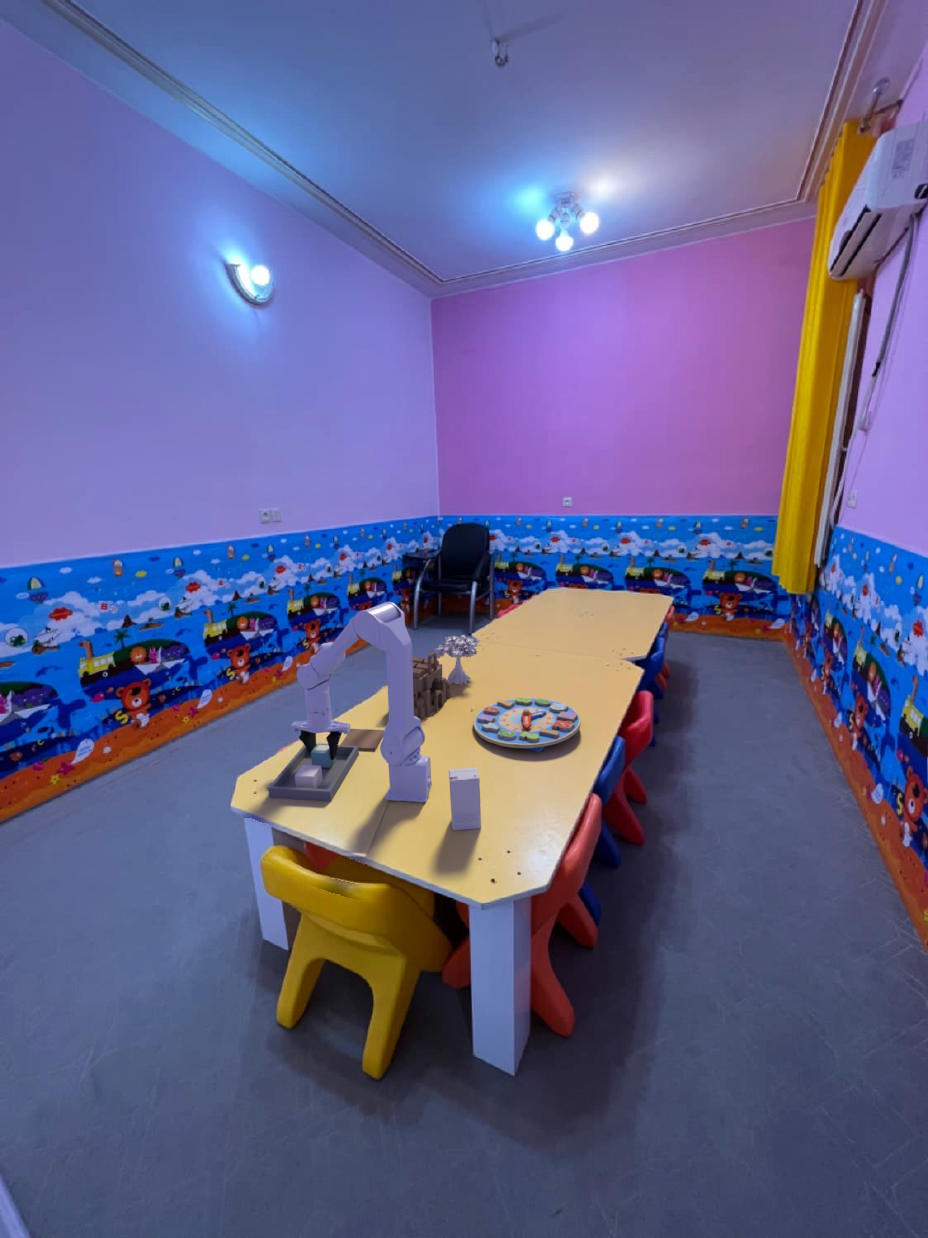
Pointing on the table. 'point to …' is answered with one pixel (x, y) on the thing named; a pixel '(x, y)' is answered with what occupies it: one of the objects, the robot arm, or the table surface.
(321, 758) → the labelled block
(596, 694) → the table surface
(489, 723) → the shape sorting clock
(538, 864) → the table surface
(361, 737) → the pad
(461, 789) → the skincare box
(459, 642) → the tree
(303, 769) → the plain block
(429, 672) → the brown wooden block structure
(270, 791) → the bin
